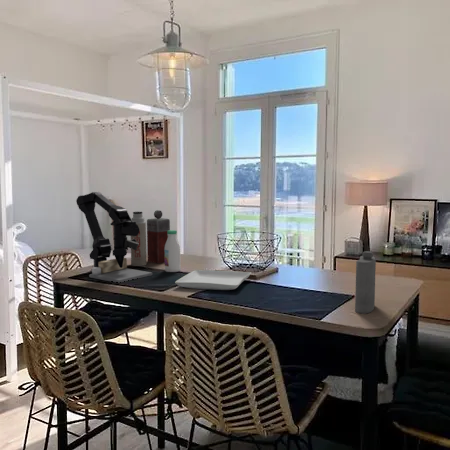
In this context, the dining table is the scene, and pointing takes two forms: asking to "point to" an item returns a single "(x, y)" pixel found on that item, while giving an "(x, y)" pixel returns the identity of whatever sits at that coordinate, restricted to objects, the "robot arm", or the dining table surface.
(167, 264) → the milk bottle
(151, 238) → the square decanter
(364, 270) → the flask
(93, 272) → the dark grey flat piece
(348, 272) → the dining table surface
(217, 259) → the dining table surface
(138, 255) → the thermos bottle
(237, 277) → the square plate
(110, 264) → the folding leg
